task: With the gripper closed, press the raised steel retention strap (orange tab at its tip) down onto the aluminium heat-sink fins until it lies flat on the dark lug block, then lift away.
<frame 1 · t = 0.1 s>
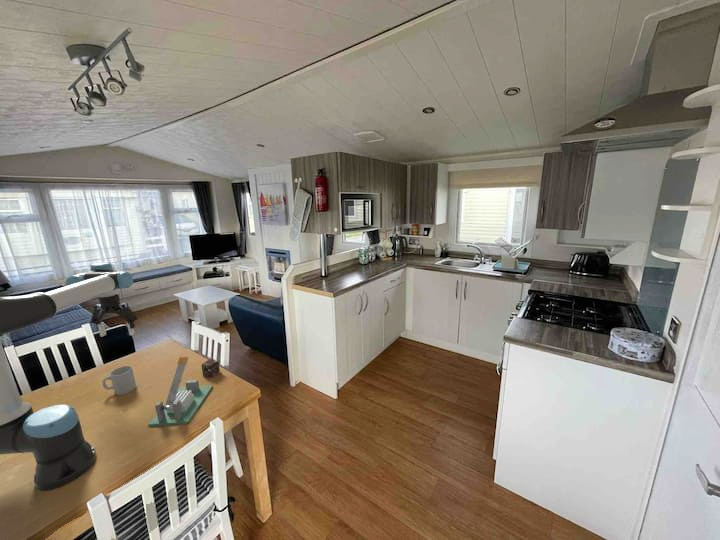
hand: (118, 334, 138), 28 cm above the table, fingers open, 13 cm apart
box: (211, 374, 152), on the table
strap: (176, 382, 123), point 14 cm above the table, hinge at 40.0°
mug: (121, 391, 139), on the table
heatsink board: (183, 404, 129), on the table
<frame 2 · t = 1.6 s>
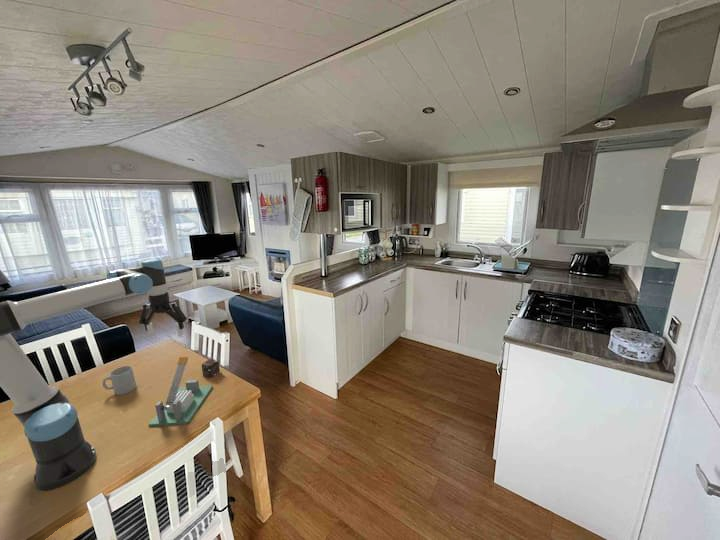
hand: (166, 336, 131), 31 cm above the table, fingers open, 12 cm apart
nothing on the table moved.
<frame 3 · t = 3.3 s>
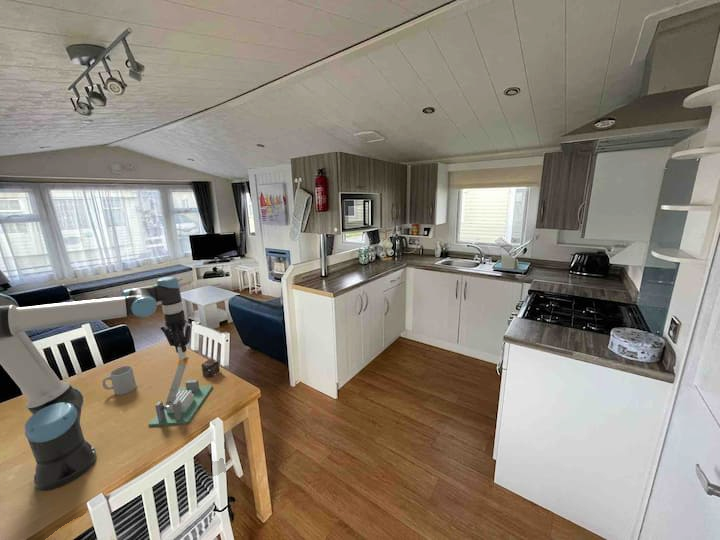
hand: (182, 358, 129), 21 cm above the table, fingers closed
strap: (176, 382, 124), point 14 cm above the table, hinge at 39.0°, touching gripper
everything else where it was.
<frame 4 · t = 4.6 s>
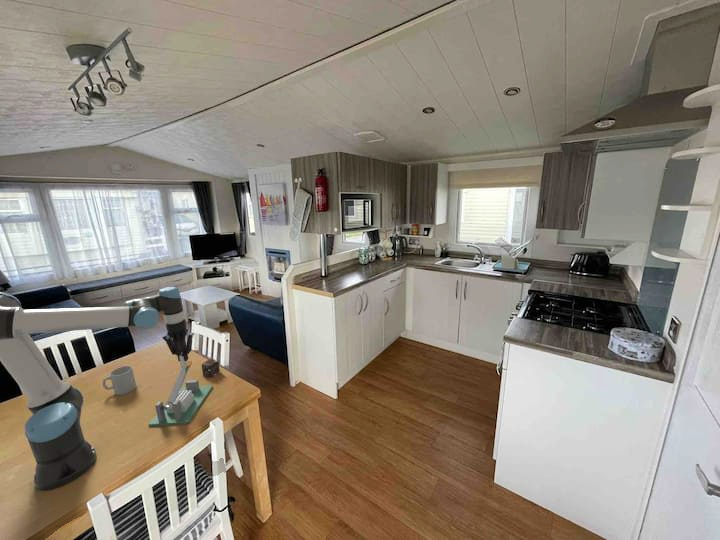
hand: (184, 366, 130), 17 cm above the table, fingers closed
strap: (178, 384, 125), point 12 cm above the table, hinge at 27.7°, touching gripper
everything else where it was.
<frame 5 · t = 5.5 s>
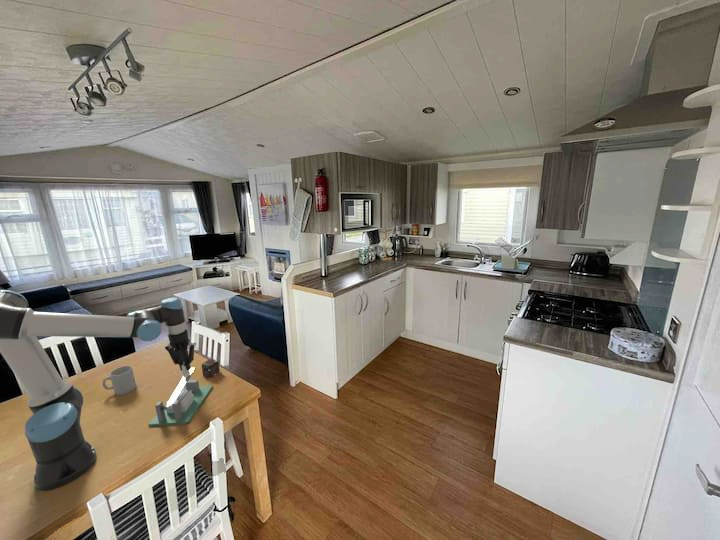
hand: (187, 375, 132), 12 cm above the table, fingers closed
strap: (180, 387, 127), point 9 cm above the table, hinge at 13.3°, touching gripper
everything else where it was.
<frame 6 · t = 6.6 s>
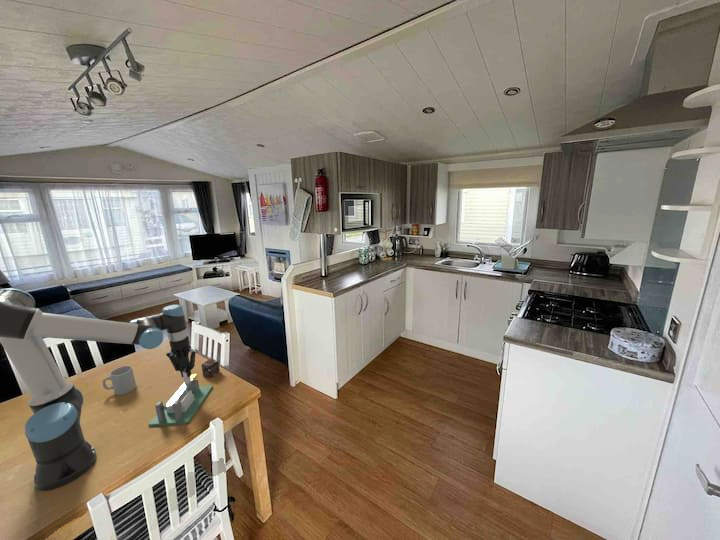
hand: (188, 382, 132), 8 cm above the table, fingers closed
strap: (181, 390, 127), point 7 cm above the table, hinge at 2.4°, touching gripper
everything else where it was.
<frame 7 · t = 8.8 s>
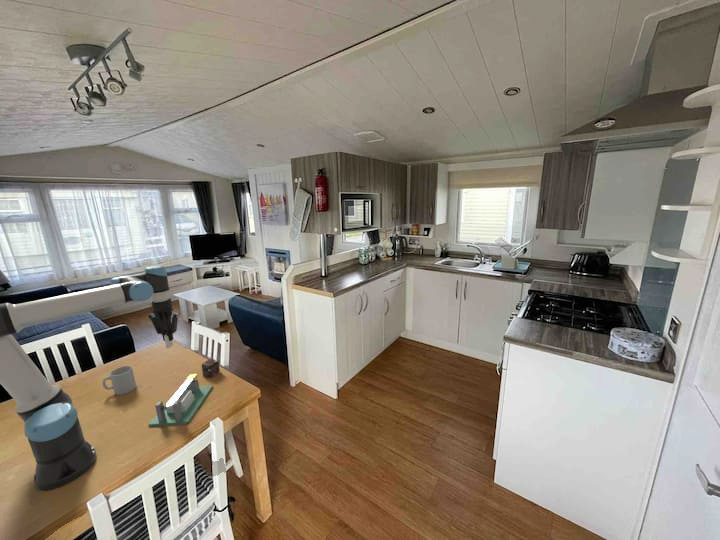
hand: (169, 346, 131), 26 cm above the table, fingers closed
strap: (181, 390, 127), point 7 cm above the table, hinge at 2.3°
everything else where it was.
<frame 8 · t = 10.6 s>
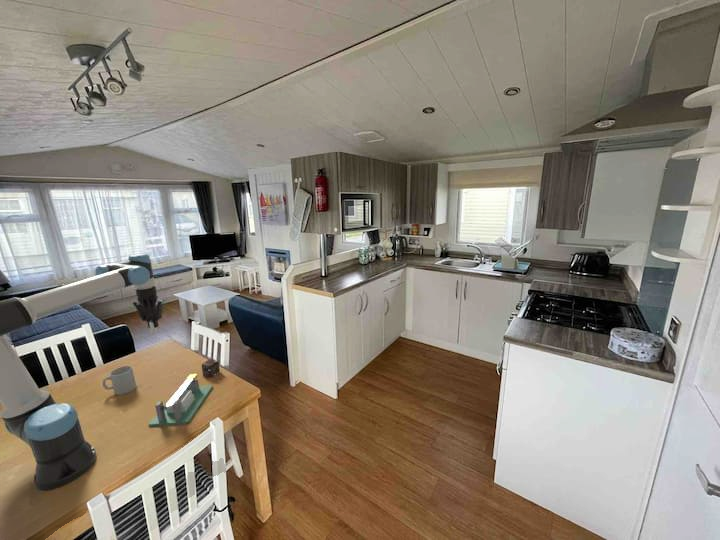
hand: (154, 333, 134), 30 cm above the table, fingers closed
nothing on the table moved.
at the end: strap at +2° (first picture: +40°); strap touching nothing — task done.
